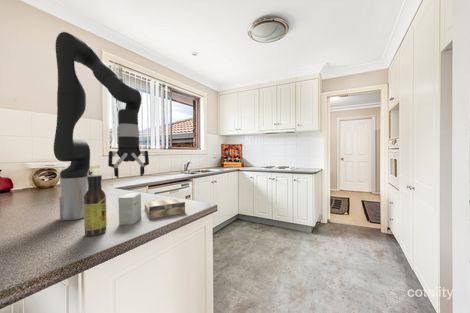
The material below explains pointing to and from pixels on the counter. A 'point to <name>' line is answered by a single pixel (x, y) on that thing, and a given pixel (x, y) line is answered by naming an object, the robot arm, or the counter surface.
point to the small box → (129, 208)
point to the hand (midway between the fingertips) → (129, 176)
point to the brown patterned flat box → (164, 208)
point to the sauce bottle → (94, 207)
